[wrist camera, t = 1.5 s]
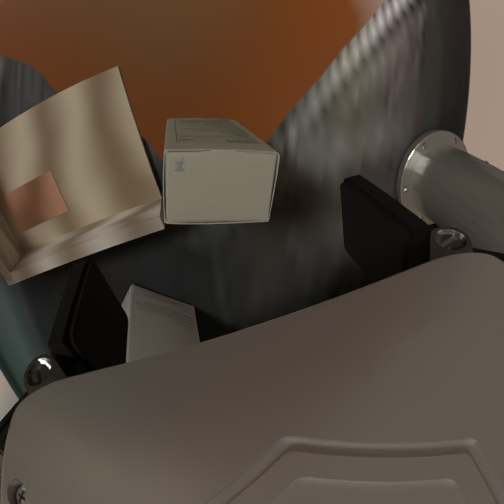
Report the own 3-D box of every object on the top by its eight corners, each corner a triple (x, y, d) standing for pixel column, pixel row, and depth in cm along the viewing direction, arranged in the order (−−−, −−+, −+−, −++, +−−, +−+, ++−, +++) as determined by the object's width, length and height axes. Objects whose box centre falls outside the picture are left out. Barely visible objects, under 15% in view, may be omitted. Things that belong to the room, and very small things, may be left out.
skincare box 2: (165, 164, 27) (157, 226, 17) (166, 117, 24) (156, 149, 14) (235, 165, 28) (271, 225, 18) (240, 119, 26) (282, 152, 16)
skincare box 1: (114, 318, 34) (102, 435, 22) (132, 279, 32) (121, 404, 19) (175, 339, 38) (185, 450, 25) (199, 304, 36) (218, 424, 23)
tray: (119, 66, 21) (107, 64, 17) (166, 206, 29) (164, 228, 25) (-31, 150, 20) (-55, 164, 16) (23, 261, 28) (8, 285, 24)
